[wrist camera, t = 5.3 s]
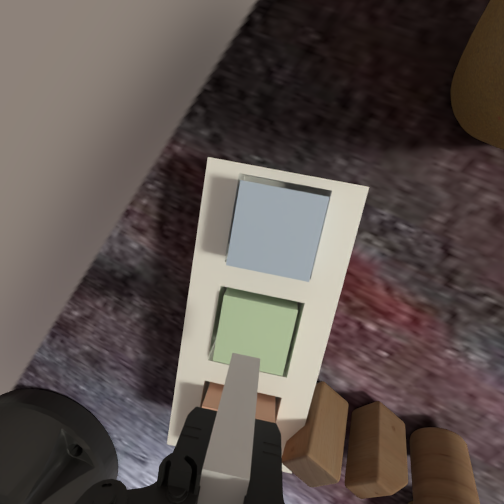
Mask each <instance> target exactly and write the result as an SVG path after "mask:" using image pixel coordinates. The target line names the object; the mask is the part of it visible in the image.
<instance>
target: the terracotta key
mask: <svg viewBox="0 0 504 504" xmlns="http://www.w3.org/2000/svg"><path fill="white" fill-rule="evenodd" d="M223 388H224V385H223V384H218V383H214V382H210V385H209V387H208V390H207V393H206V396H205V399H204V402H203V405H202V408H206V409H210V410H215V411H218V407H219V403H220V399H221V395H222V392H223ZM275 397H276V396H272V395H267V394H263V393H258V392H257V403H256V414H255V419H260V420H264V421H269V422H273V423H275Z"/></svg>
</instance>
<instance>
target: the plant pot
mask: <svg viewBox="0 0 504 504" xmlns="http://www.w3.org/2000/svg"><path fill="white" fill-rule="evenodd" d="M451 105H452V109H453V112H454V115H455V117H456V119H457V121H458V122H459V124H460V125H461V127H462V128H463V129H464V130H465V131H466V132H467V133H468V134H470V135H471V136H472V137H474V138H476V139H478V140H480V141H483V142H485V143H488V144H490V145H492V146H495V147H497V148H500V149H503V150H504V0H490V1H489V3H488V5H487V7H486V9H485V11H484V12H483V14H482V16H481V18H480V20H479V22H478V24H477V25H476V27H475V29H474V31H473V33H472V35H471V37H470V39H469V41H468V43H467V45H466V47H465V50H464V52H463V54H462V56H461V58H460V60H459V63H458V65H457V68H456V70H455V73H454V76H453V80H452V85H451Z"/></svg>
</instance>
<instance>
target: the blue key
mask: <svg viewBox="0 0 504 504" xmlns="http://www.w3.org/2000/svg"><path fill="white" fill-rule="evenodd" d="M328 202H329V197H328V196H322V195H317V194H312V193H307V192H301V191H296V190H291V189H285V188H280V187H275V186H270V185H264V184H259V183H254V182H248V181H243V180H240V185H239V191H238V197H237V203H236V209H235V215H234V221H233V227H232V232H231V238H230V244H229V250H228V256H227V262H226V265H228V266H233V267H237V268H242V269H247V270H252V271H257V272H262V273H267V274H272V275H277V276H282V277H287V278H291V279H296V280H301V281H306V282H309V280H310V276H311V272H312V268H313V264H314V260H315V255H316V251H317V247H318V243H319V239H320V235H321V231H322V226H323V222H324V218H325V214H326V210H327V206H328Z"/></svg>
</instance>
